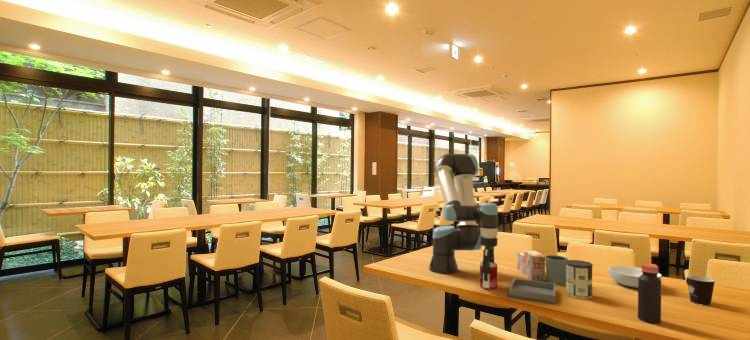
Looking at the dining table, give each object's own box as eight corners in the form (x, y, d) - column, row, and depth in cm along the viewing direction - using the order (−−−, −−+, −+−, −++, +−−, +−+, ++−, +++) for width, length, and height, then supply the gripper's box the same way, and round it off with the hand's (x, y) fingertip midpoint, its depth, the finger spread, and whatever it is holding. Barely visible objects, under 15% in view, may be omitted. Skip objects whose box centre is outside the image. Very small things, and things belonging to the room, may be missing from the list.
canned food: (499, 286, 172) (499, 263, 172) (494, 291, 166) (494, 266, 166) (482, 283, 176) (482, 260, 176) (477, 288, 170) (477, 264, 170)
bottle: (641, 322, 133) (641, 267, 133) (635, 315, 140) (636, 262, 140) (663, 325, 131) (664, 269, 131) (656, 318, 137) (657, 264, 137)
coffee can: (580, 290, 168) (581, 259, 168) (598, 298, 158) (598, 265, 158) (560, 291, 166) (560, 260, 166) (576, 299, 156) (576, 266, 156)
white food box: (517, 268, 204) (517, 246, 204) (528, 269, 204) (528, 246, 203) (532, 280, 182) (532, 255, 182) (545, 281, 182) (545, 256, 182)
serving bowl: (663, 285, 177) (664, 271, 177) (658, 296, 161) (658, 280, 161) (613, 276, 191) (613, 263, 191) (603, 285, 176) (603, 271, 176)
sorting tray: (508, 296, 158) (508, 288, 158) (513, 285, 174) (513, 277, 174) (555, 304, 150) (555, 295, 150) (555, 291, 166) (556, 283, 166)
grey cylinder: (542, 281, 180) (542, 257, 180) (548, 277, 188) (549, 253, 188) (564, 286, 173) (565, 261, 173) (570, 281, 181) (570, 257, 181)
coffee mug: (716, 308, 148) (717, 283, 148) (688, 303, 152) (689, 279, 152) (709, 299, 158) (710, 276, 158) (683, 295, 162) (684, 272, 162)
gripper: (493, 241, 159) (492, 293, 159) (501, 233, 180) (500, 278, 180) (475, 240, 162) (474, 290, 162) (485, 232, 183) (484, 276, 183)
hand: (488, 284), depth 171 cm, fingers open, 11 cm apart
